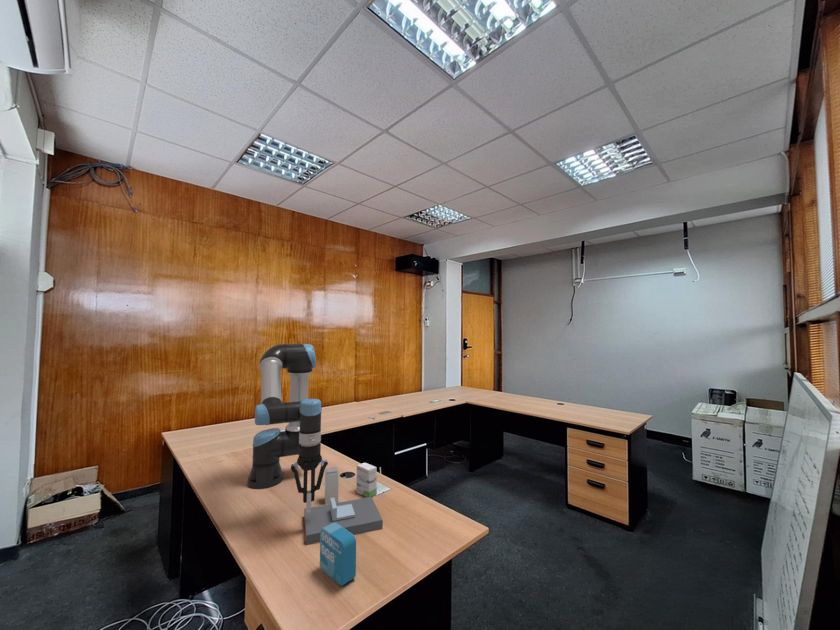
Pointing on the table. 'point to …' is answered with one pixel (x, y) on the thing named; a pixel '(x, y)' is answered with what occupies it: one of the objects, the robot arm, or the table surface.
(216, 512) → the table surface
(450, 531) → the table surface
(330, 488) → the plug
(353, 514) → the light blue l-shaped block
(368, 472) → the ink box
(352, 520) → the socket block
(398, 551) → the table surface
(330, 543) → the data package
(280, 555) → the table surface
